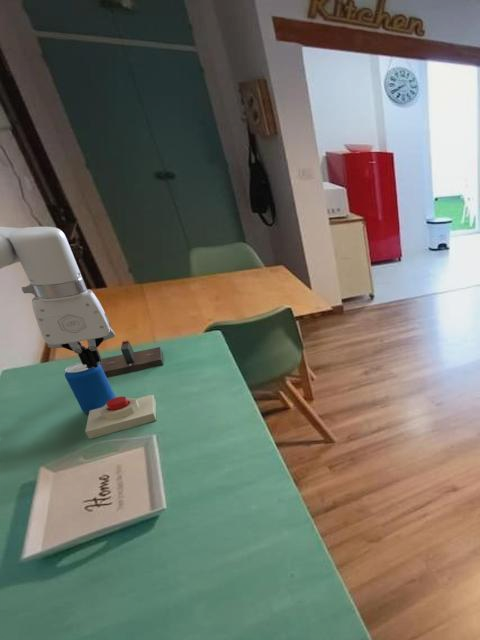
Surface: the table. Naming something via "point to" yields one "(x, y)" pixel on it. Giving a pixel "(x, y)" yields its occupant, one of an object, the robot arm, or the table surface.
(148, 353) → the panel
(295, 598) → the table surface
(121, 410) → the housing
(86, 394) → the beverage can
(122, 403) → the button
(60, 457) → the table surface
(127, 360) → the knob
